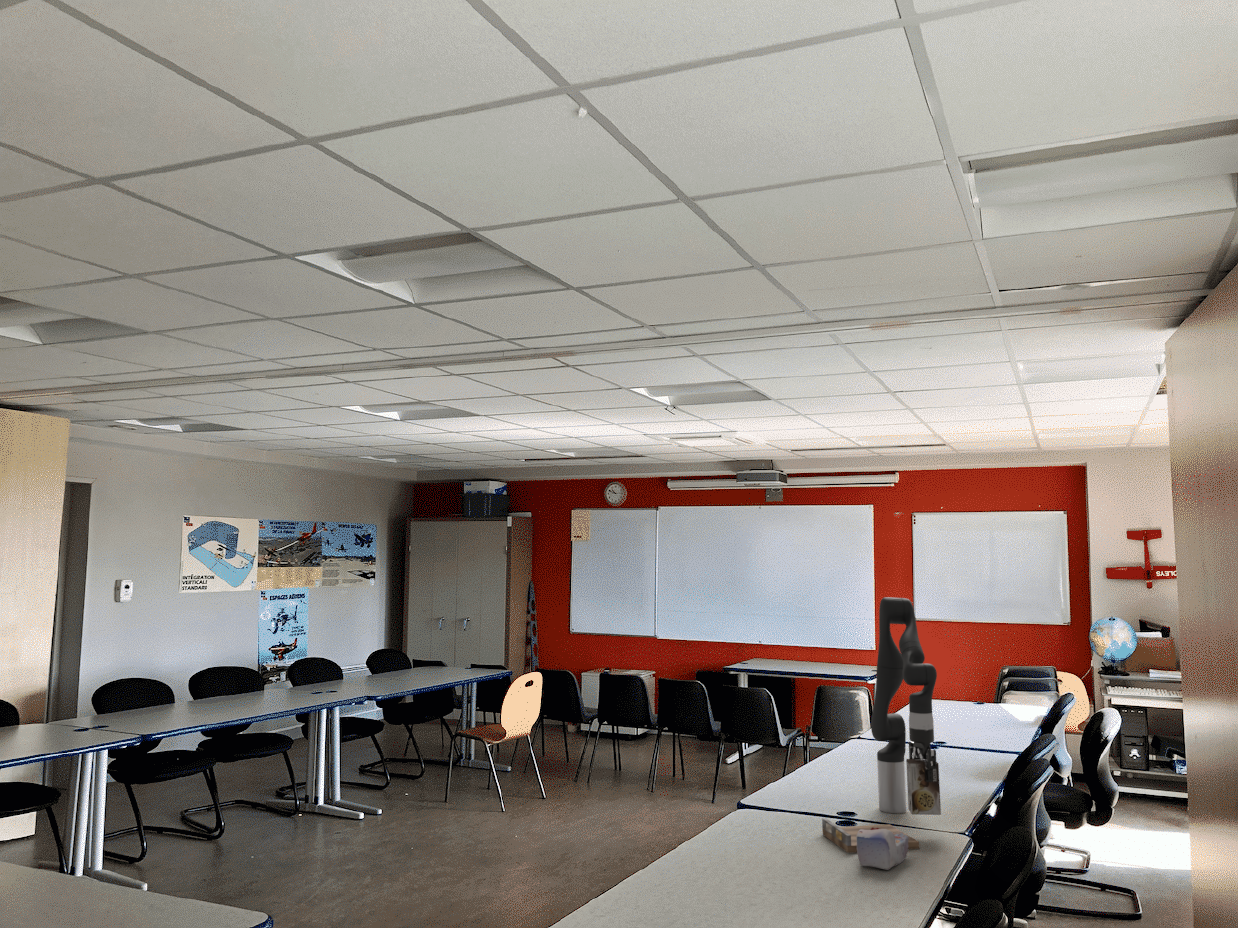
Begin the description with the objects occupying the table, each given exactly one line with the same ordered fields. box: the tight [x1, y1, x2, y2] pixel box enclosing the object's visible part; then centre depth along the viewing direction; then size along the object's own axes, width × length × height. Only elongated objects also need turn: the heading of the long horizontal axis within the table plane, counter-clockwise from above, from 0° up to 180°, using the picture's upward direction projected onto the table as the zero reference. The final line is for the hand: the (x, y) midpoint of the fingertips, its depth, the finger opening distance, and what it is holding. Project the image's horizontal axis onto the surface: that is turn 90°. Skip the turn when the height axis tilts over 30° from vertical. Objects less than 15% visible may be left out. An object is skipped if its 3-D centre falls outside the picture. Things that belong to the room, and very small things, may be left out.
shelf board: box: [821, 817, 920, 854], centre depth 291 cm, size 20×23×5 cm
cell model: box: [856, 827, 909, 871], centre depth 271 cm, size 13×11×20 cm
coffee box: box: [905, 758, 942, 816], centre depth 298 cm, size 9×6×16 cm
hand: (923, 778), depth 298 cm, fingers closed on coffee box, 7 cm apart
